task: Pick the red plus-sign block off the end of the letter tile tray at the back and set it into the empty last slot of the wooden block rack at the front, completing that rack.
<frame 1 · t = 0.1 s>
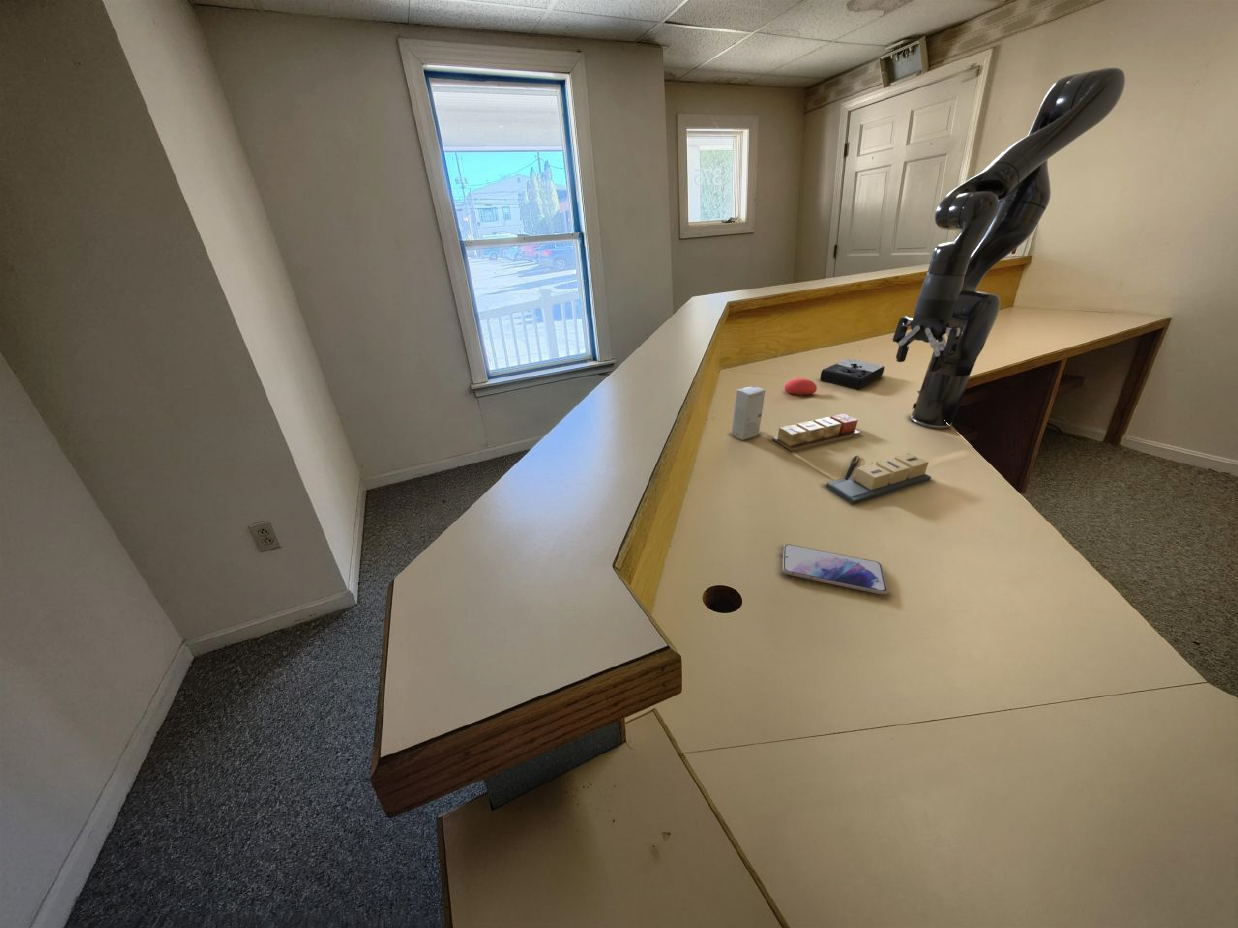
hand: (916, 366, 109), 17 cm above the worktop, tool pointing down, fingers open, 8 cm apart
letter tile tray: (815, 438, 114), on the worktop
stress ball: (799, 394, 141), on the worktop
smartphone: (831, 571, 73), on the worktop
multimeter: (851, 379, 153), on the worktop
red plus-sign block: (841, 428, 117), point 1 cm above the worktop, touching letter tile tray
cosmetic box: (744, 435, 117), on the worktop
wooden block rack: (878, 483, 95), on the worktop
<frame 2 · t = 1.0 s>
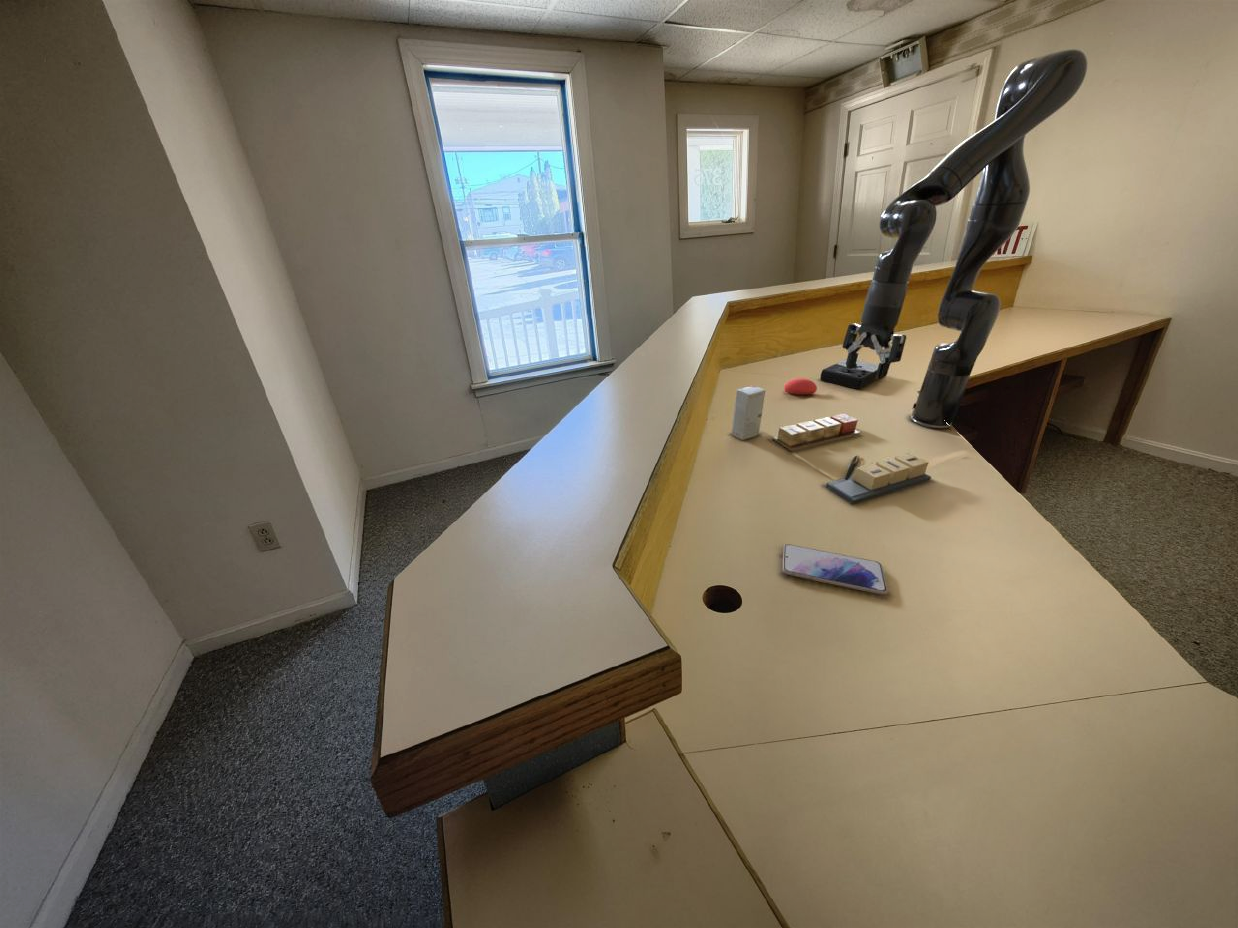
hand: (864, 373, 109), 16 cm above the worktop, tool pointing down, fingers open, 8 cm apart
nothing on the worktop moved.
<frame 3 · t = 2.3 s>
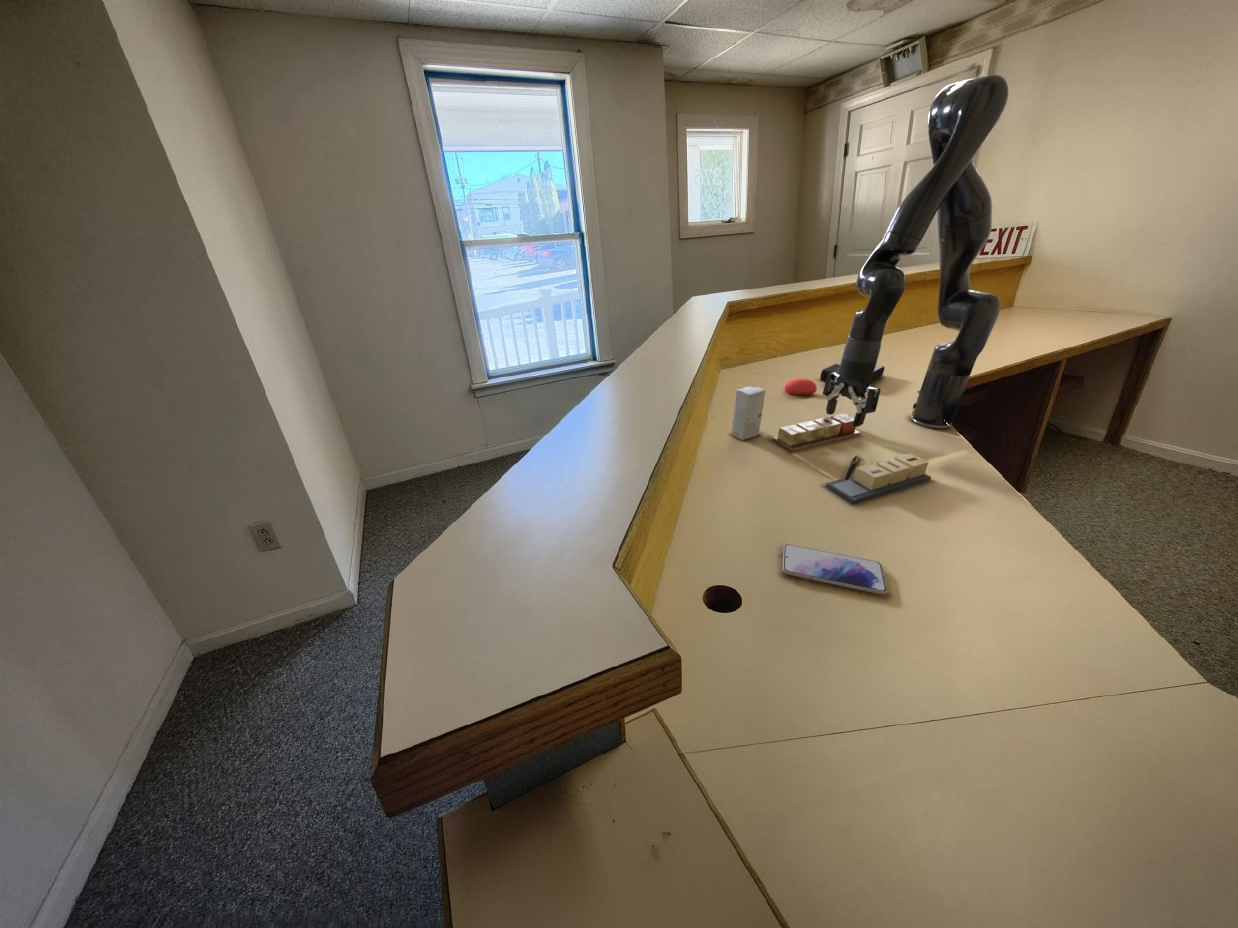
hand: (842, 419, 115), 4 cm above the worktop, tool pointing down, fingers open, 8 cm apart
nothing on the worktop moved.
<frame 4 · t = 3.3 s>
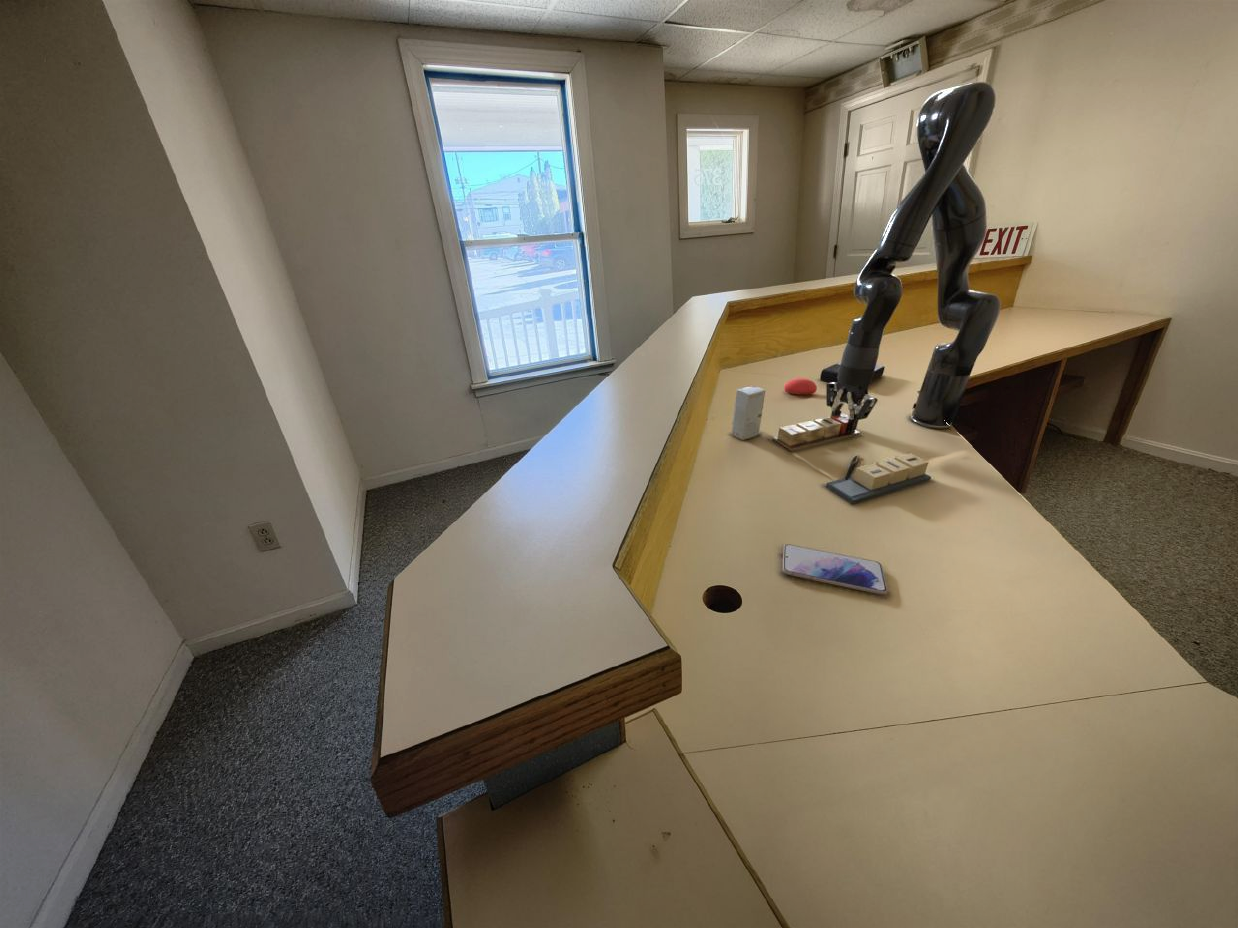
hand: (841, 427, 116), 1 cm above the worktop, tool pointing down, fingers closed on red plus-sign block, 4 cm apart
red plus-sign block: (841, 428, 117), point 1 cm above the worktop, touching gripper, letter tile tray
everything else where it was.
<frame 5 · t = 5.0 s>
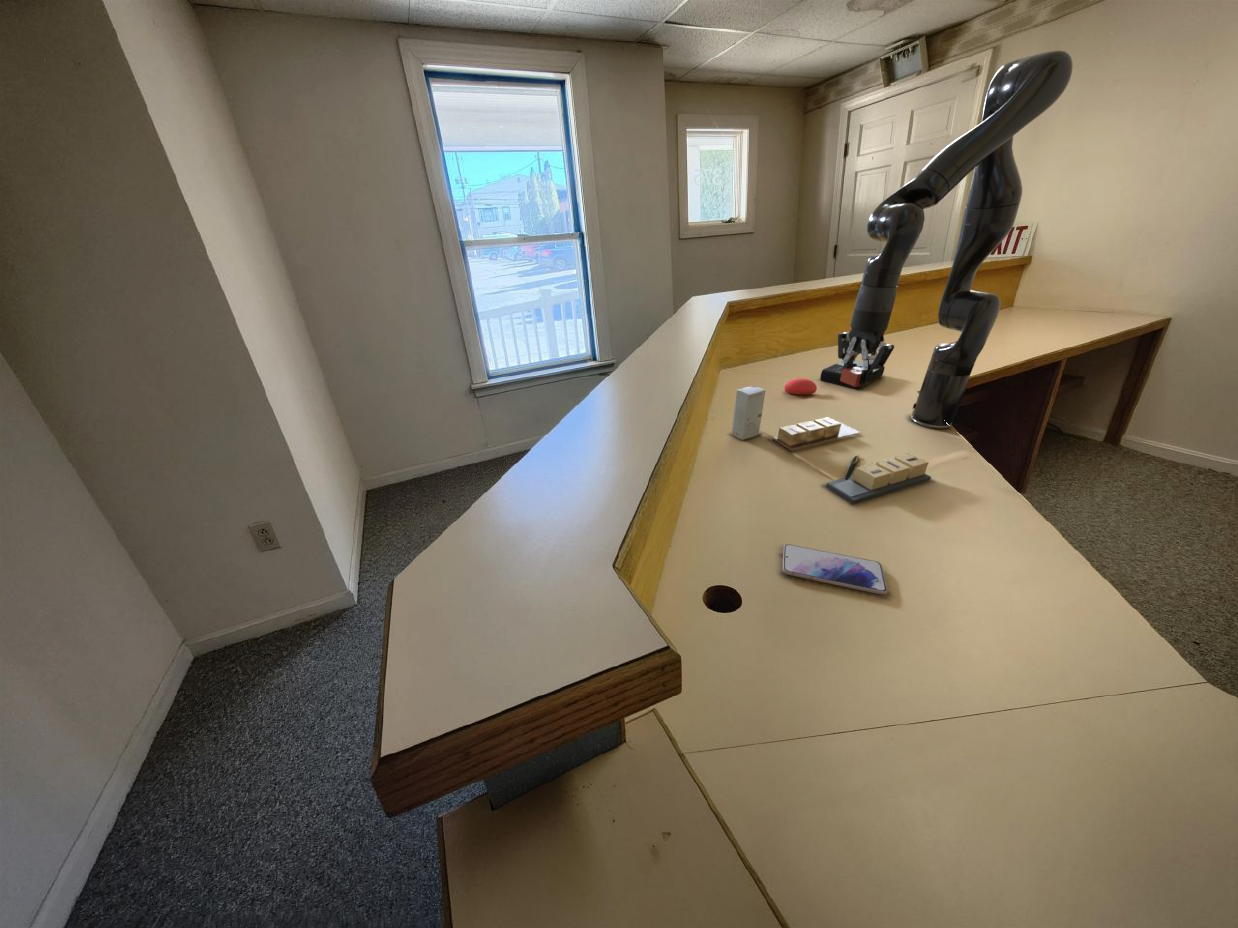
hand: (854, 381, 108), 15 cm above the worktop, tool pointing down, fingers closed on red plus-sign block, 4 cm apart
red plus-sign block: (854, 382, 108), point 14 cm above the worktop, touching gripper
everything else where it was.
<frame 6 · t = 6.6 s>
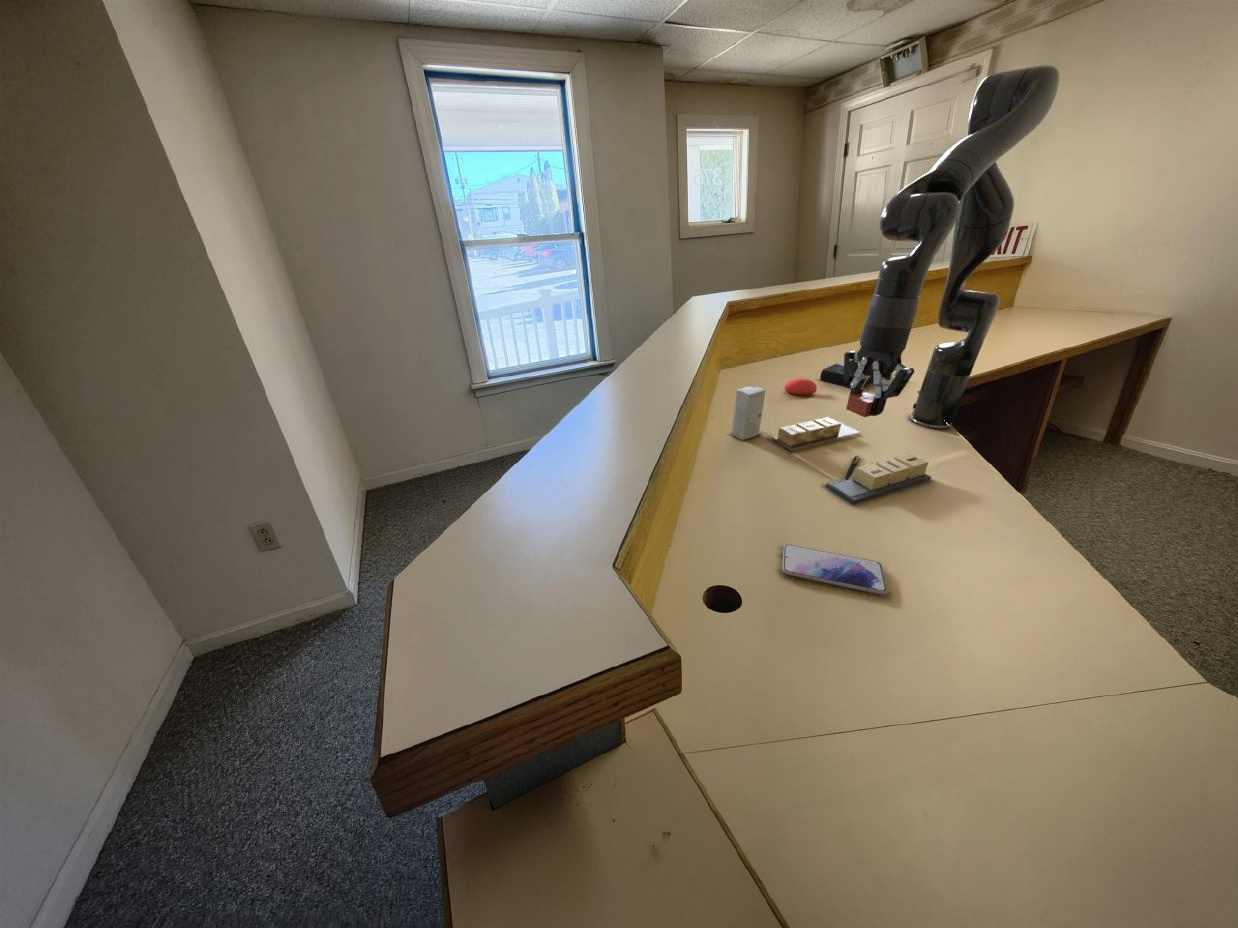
hand: (863, 410, 89), 16 cm above the worktop, tool pointing down, fingers closed on red plus-sign block, 4 cm apart
red plus-sign block: (863, 411, 90), point 16 cm above the worktop, touching gripper
everything else where it was.
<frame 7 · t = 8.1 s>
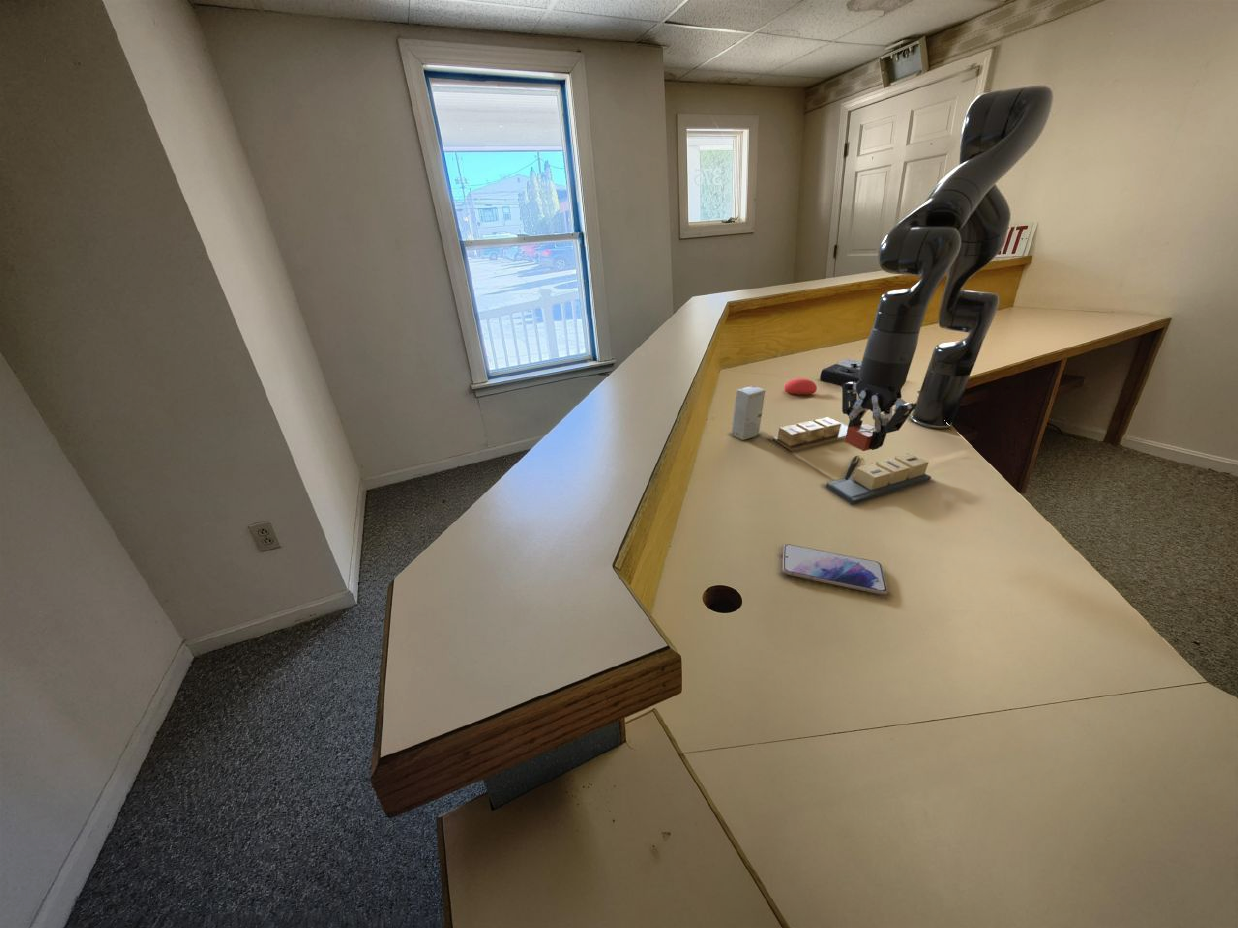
hand: (862, 442, 87), 11 cm above the worktop, tool pointing down, fingers closed on red plus-sign block, 4 cm apart
red plus-sign block: (862, 444, 87), point 11 cm above the worktop, touching gripper
everything else where it was.
when the fingers open (1 cm above the worktop, at t = 10.7 s): red plus-sign block stays where it is, resting on wooden block rack.
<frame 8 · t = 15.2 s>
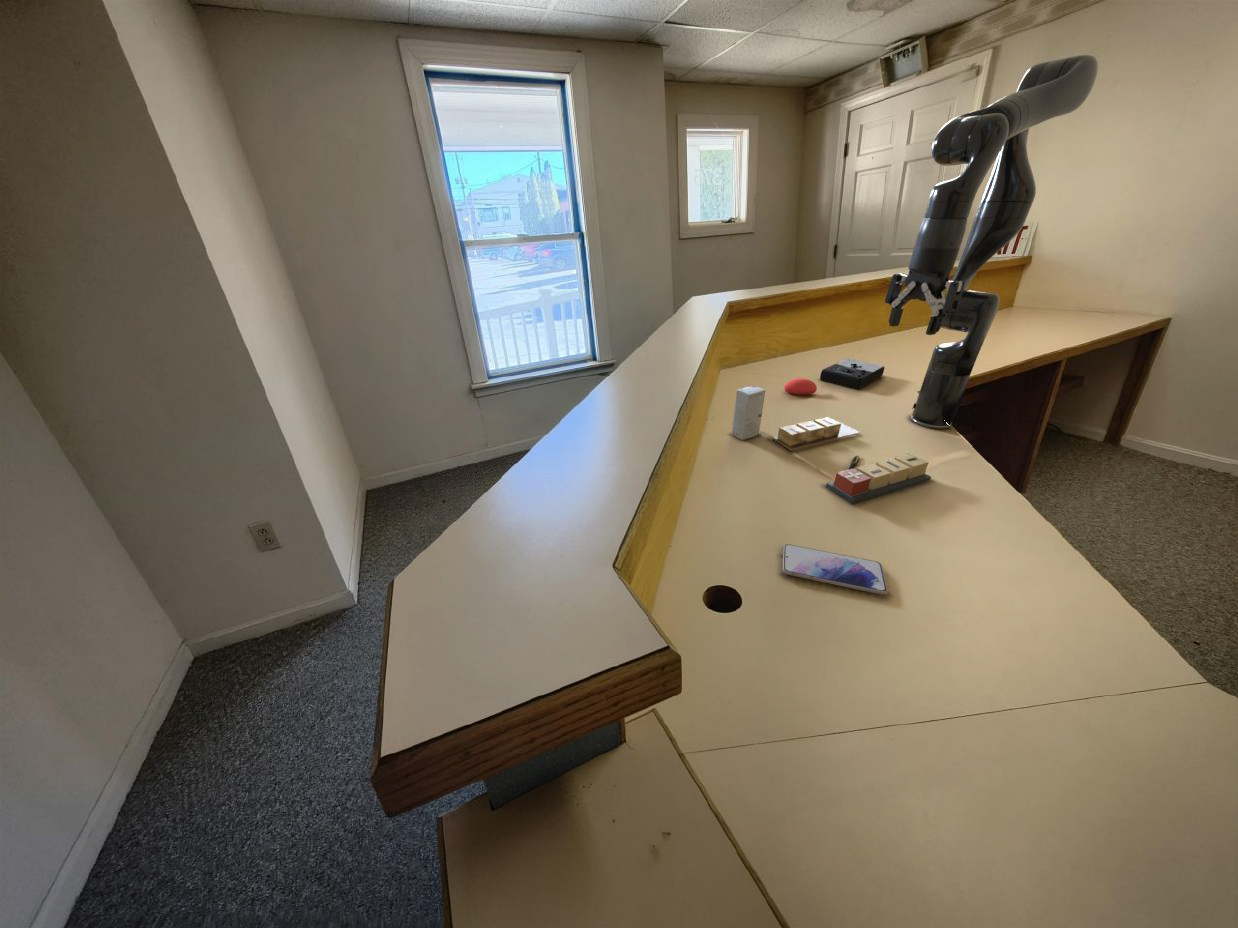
hand: (911, 330, 95), 28 cm above the worktop, tool pointing down, fingers open, 8 cm apart
red plus-sign block: (850, 488, 92), point 1 cm above the worktop, touching wooden block rack
everything else where it was.
at the end: red plus-sign block 0.1 cm from the target spot on the wooden block rack, point 1.1 cm above the wooden block rack's base; red plus-sign block tilted 0°; the gripper is holding nothing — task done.
